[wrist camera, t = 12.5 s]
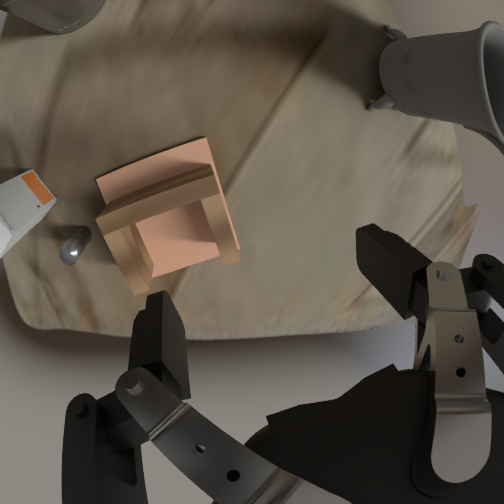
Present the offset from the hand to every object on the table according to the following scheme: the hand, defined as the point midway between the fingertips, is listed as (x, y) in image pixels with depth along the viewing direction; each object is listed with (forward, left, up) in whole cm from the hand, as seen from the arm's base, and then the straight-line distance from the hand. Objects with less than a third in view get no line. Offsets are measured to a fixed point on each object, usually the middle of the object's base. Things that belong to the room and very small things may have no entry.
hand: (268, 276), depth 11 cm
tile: (+4, -7, -25) cm, 26 cm away
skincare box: (-6, -24, -25) cm, 35 cm away
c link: (+5, -7, -24) cm, 25 cm away
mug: (-6, +29, -25) cm, 39 cm away
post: (+2, -19, -25) cm, 31 cm away
